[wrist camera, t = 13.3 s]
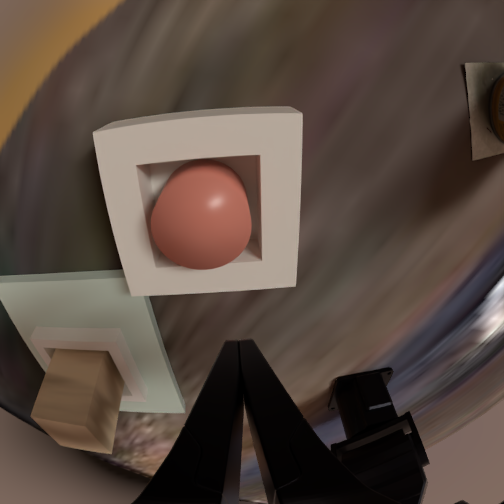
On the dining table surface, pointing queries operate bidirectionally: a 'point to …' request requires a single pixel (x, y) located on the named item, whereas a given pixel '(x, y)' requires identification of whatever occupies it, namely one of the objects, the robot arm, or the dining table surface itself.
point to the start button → (202, 215)
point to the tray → (96, 330)
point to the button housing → (213, 148)
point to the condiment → (486, 108)
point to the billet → (80, 399)
